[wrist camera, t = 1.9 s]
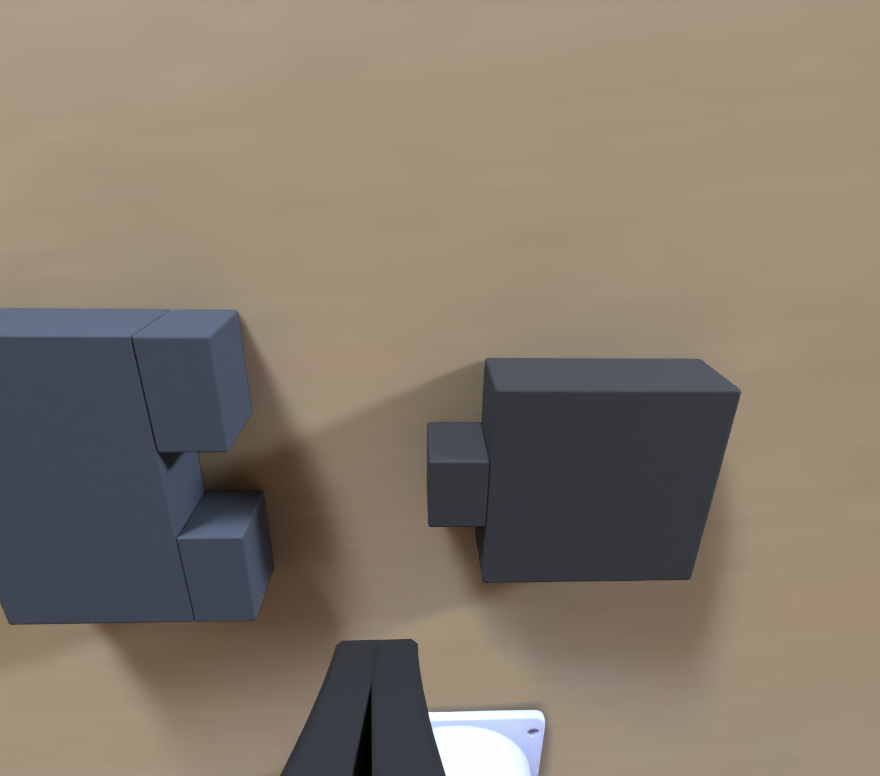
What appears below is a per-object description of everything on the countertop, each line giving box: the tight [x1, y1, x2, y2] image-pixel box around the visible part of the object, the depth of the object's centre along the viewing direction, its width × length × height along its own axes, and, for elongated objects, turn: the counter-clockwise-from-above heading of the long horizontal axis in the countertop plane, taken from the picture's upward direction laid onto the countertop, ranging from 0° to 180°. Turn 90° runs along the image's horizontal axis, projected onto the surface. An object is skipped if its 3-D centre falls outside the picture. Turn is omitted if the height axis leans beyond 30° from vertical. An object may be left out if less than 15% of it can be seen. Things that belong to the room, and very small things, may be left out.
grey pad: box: [0, 308, 274, 625], centre depth 17 cm, size 10×8×2 cm
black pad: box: [427, 358, 741, 583], centre depth 18 cm, size 7×9×2 cm
